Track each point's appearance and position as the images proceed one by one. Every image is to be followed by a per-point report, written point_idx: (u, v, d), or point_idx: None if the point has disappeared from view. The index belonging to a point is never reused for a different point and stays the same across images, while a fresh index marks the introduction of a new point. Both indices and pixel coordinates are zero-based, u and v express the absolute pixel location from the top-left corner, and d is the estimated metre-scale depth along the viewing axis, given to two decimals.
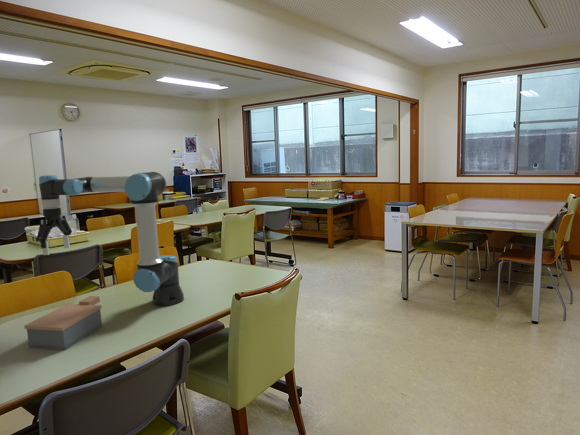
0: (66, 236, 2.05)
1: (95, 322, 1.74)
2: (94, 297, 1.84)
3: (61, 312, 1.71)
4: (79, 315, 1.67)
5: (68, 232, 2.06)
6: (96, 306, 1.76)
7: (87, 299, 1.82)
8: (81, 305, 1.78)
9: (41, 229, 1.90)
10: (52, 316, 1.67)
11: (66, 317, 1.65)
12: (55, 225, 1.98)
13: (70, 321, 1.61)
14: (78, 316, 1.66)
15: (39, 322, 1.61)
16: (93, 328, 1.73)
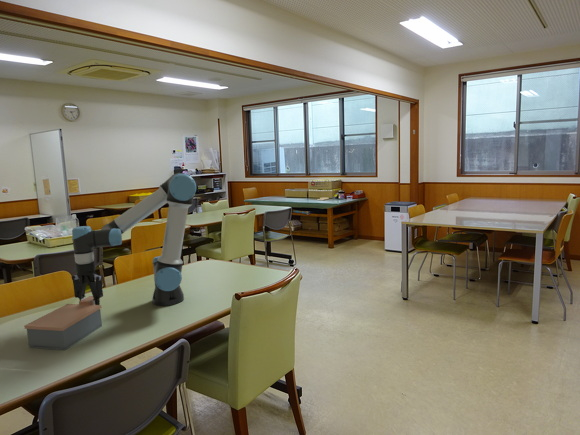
0: None
1: (95, 322, 1.74)
2: None
3: (61, 312, 1.71)
4: (79, 315, 1.67)
5: (95, 297, 1.80)
6: (96, 306, 1.76)
7: (87, 299, 1.82)
8: (81, 305, 1.78)
9: None
10: (52, 316, 1.67)
11: (66, 317, 1.65)
12: (85, 281, 1.80)
13: (70, 321, 1.61)
14: (78, 316, 1.66)
15: (39, 322, 1.61)
16: (93, 328, 1.73)
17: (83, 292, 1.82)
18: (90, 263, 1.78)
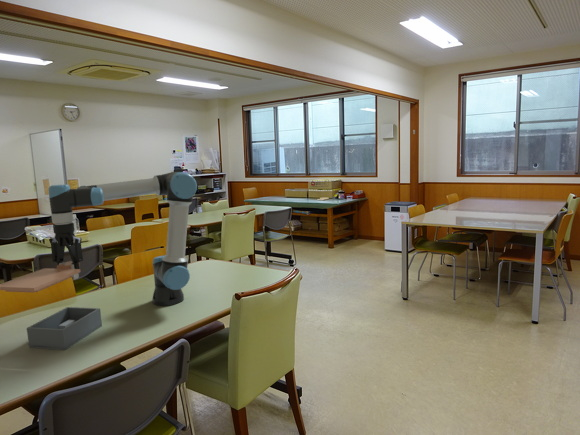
0: None
1: (95, 322, 1.74)
2: None
3: (36, 275, 1.58)
4: (55, 277, 1.54)
5: (74, 261, 1.68)
6: (74, 270, 1.63)
7: (66, 263, 1.70)
8: (59, 269, 1.65)
9: None
10: (26, 278, 1.54)
11: (40, 279, 1.52)
12: (63, 244, 1.67)
13: (44, 282, 1.48)
14: (53, 278, 1.53)
15: (10, 283, 1.49)
16: (93, 328, 1.73)
17: (62, 256, 1.70)
18: (68, 224, 1.66)
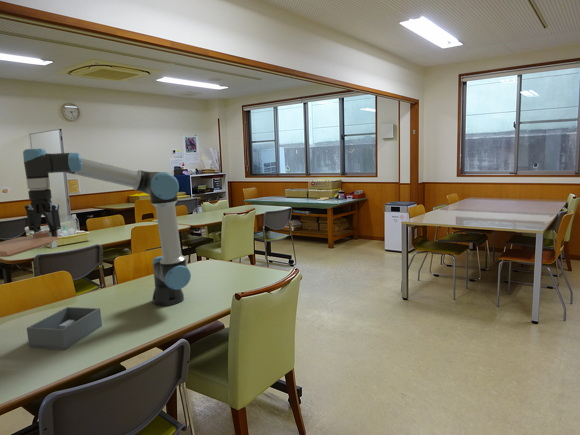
0: None
1: (95, 322, 1.74)
2: None
3: (10, 242, 1.51)
4: (30, 243, 1.47)
5: (51, 229, 1.61)
6: (51, 237, 1.56)
7: (43, 231, 1.63)
8: (35, 237, 1.58)
9: None
10: None
11: (14, 245, 1.45)
12: (40, 211, 1.60)
13: (18, 247, 1.41)
14: (28, 244, 1.46)
15: None
16: (93, 328, 1.73)
17: (38, 224, 1.63)
18: (45, 190, 1.59)
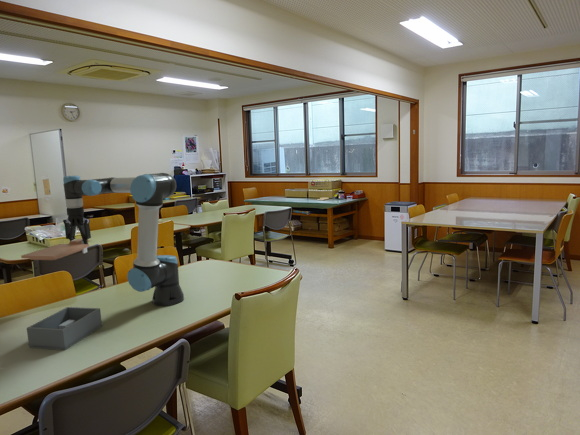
0: None
1: (95, 322, 1.74)
2: None
3: (53, 248, 1.96)
4: (69, 249, 1.92)
5: (83, 238, 2.05)
6: (84, 245, 2.01)
7: (77, 240, 2.08)
8: (71, 244, 2.03)
9: None
10: (45, 250, 1.92)
11: (57, 251, 1.90)
12: (75, 224, 2.05)
13: (61, 252, 1.86)
14: (68, 250, 1.91)
15: (34, 253, 1.86)
16: (93, 328, 1.73)
17: (73, 234, 2.08)
18: (79, 208, 2.03)
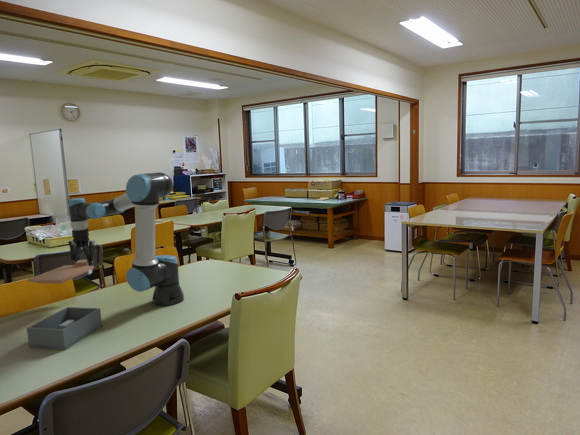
0: None
1: (95, 322, 1.74)
2: None
3: (59, 270, 1.99)
4: (75, 272, 1.95)
5: (88, 259, 2.09)
6: (89, 266, 2.04)
7: (82, 261, 2.11)
8: (76, 266, 2.07)
9: None
10: (51, 273, 1.95)
11: (63, 273, 1.93)
12: (80, 245, 2.09)
13: (67, 276, 1.89)
14: (73, 273, 1.94)
15: (40, 276, 1.90)
16: (93, 328, 1.73)
17: (78, 255, 2.11)
18: (84, 230, 2.07)
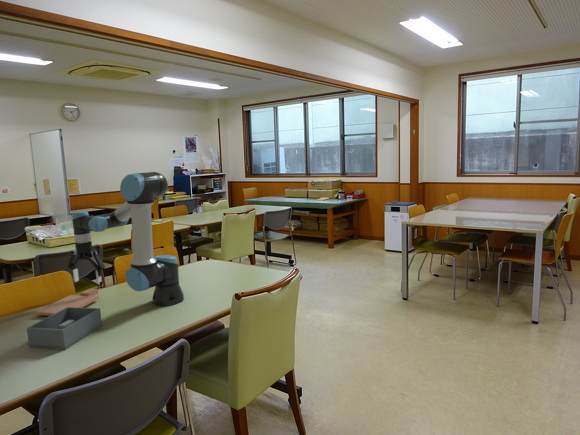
0: None
1: (95, 322, 1.74)
2: (93, 289, 2.17)
3: (65, 301, 2.03)
4: (80, 304, 1.99)
5: (97, 268, 2.10)
6: (94, 297, 2.08)
7: (87, 290, 2.15)
8: (82, 296, 2.11)
9: None
10: (58, 304, 1.99)
11: (69, 305, 1.98)
12: (83, 258, 2.11)
13: None
14: (79, 304, 1.98)
15: (47, 309, 1.94)
16: (93, 328, 1.73)
17: (76, 265, 2.14)
18: (87, 242, 2.09)
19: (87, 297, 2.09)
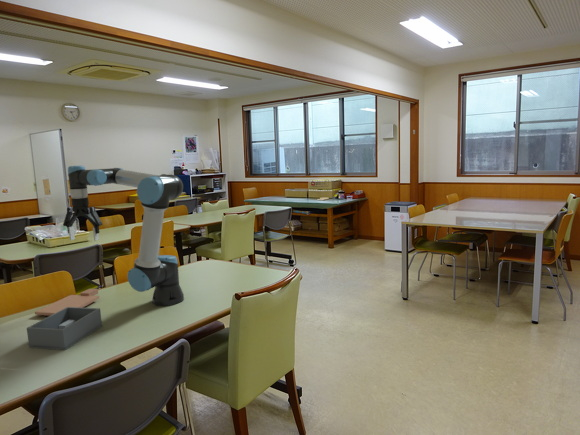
0: None
1: (95, 322, 1.74)
2: (93, 289, 2.17)
3: (65, 301, 2.03)
4: (80, 304, 1.99)
5: (94, 224, 2.02)
6: (94, 297, 2.08)
7: (87, 290, 2.15)
8: (82, 296, 2.11)
9: None
10: (58, 304, 1.99)
11: (69, 305, 1.98)
12: (79, 214, 2.03)
13: None
14: (79, 304, 1.98)
15: (47, 309, 1.94)
16: (93, 328, 1.73)
17: (72, 222, 2.06)
18: (84, 198, 2.01)
19: (87, 297, 2.09)
